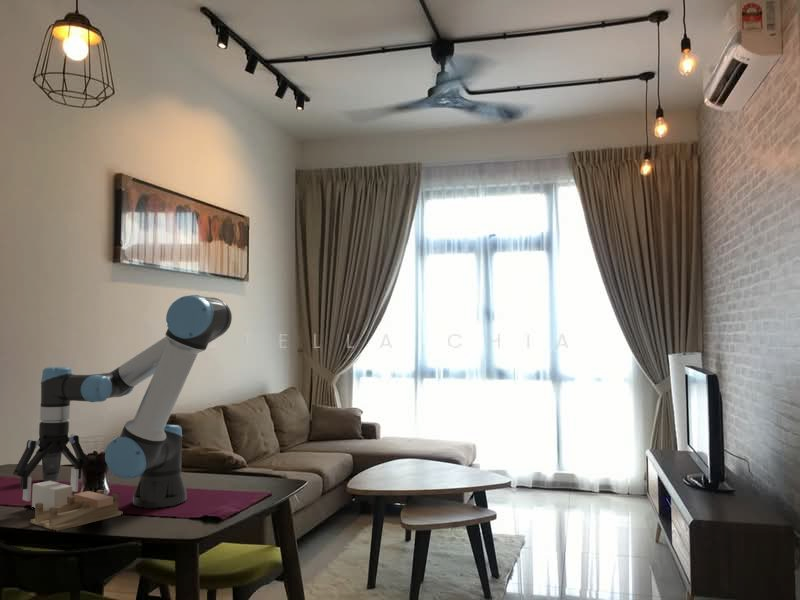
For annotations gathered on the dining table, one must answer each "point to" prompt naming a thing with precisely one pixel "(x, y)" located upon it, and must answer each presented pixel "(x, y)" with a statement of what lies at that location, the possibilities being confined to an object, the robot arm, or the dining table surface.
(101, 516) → the oak rack
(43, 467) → the beverage cup
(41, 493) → the white rectangular block
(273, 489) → the dining table surface
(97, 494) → the terracotta strip
